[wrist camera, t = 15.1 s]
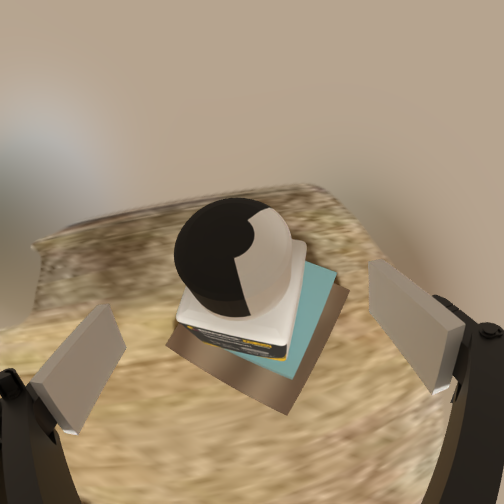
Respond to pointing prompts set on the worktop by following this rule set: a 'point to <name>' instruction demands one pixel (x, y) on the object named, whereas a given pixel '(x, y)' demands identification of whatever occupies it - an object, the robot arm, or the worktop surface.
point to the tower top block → (301, 320)
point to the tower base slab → (252, 375)
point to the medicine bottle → (240, 277)
